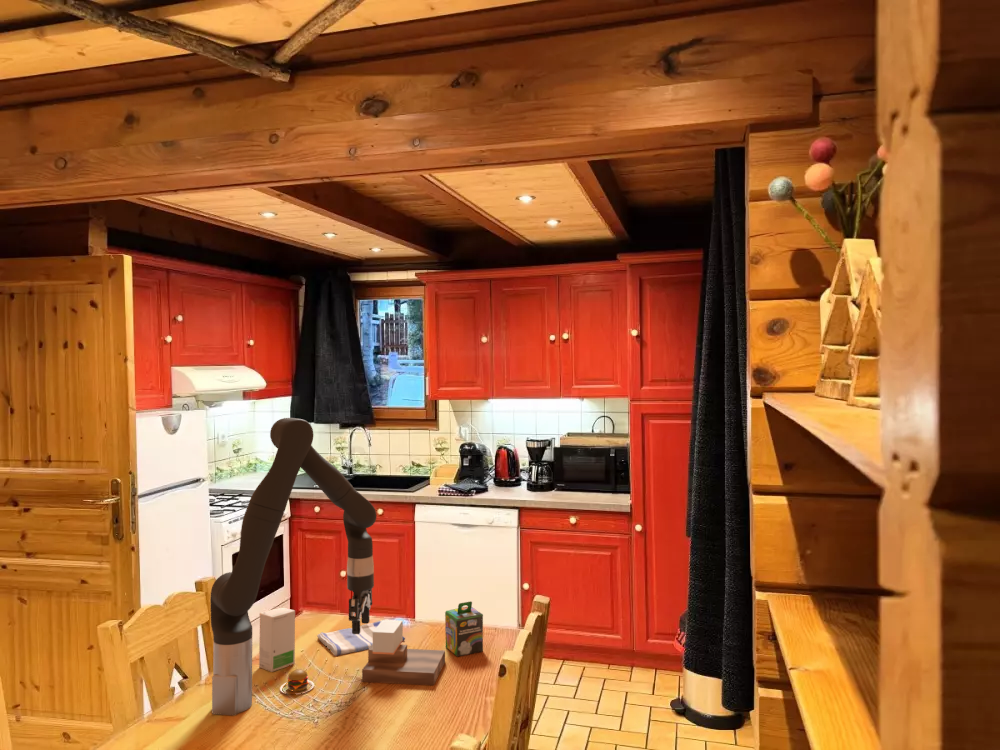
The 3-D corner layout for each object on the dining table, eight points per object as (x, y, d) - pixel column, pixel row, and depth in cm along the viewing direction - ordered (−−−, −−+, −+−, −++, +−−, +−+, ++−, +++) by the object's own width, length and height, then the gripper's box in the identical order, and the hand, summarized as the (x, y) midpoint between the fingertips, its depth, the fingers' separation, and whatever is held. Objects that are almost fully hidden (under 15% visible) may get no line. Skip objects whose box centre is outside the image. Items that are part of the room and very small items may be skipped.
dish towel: (315, 640, 222) (315, 631, 222) (384, 627, 235) (384, 618, 235) (333, 658, 208) (333, 649, 208) (405, 643, 220) (405, 634, 220)
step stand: (433, 685, 188) (433, 660, 188) (362, 681, 190) (362, 657, 190) (445, 661, 204) (445, 639, 204) (378, 658, 206) (378, 636, 206)
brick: (393, 654, 192) (393, 632, 193) (372, 653, 193) (372, 632, 193) (402, 641, 202) (402, 620, 202) (382, 640, 203) (382, 619, 203)
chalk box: (471, 642, 220) (471, 595, 220) (484, 651, 212) (484, 603, 212) (444, 647, 215) (444, 599, 215) (456, 657, 207) (456, 607, 207)
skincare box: (271, 673, 196) (271, 617, 196) (257, 667, 200) (257, 613, 200) (296, 663, 203) (296, 610, 203) (282, 658, 207) (282, 605, 207)
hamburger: (269, 686, 189) (269, 666, 189) (314, 677, 194) (314, 658, 194) (278, 704, 178) (278, 683, 178) (325, 694, 184) (325, 673, 184)
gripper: (365, 579, 191) (366, 638, 191) (380, 565, 206) (380, 620, 205) (339, 578, 192) (339, 637, 192) (355, 564, 206) (356, 619, 206)
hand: (361, 628), depth 199 cm, fingers open, 8 cm apart
